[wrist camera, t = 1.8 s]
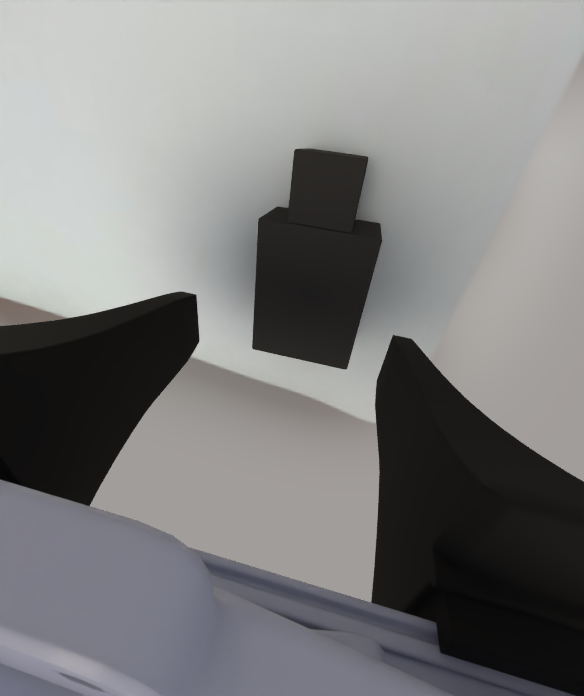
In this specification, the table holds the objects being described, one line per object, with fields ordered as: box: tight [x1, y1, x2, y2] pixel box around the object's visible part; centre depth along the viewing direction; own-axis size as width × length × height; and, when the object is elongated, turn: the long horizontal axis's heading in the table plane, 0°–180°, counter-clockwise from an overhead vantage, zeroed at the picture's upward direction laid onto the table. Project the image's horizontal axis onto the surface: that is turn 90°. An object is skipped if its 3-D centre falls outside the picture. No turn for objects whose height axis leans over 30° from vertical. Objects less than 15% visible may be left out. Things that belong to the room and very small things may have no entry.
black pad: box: [252, 149, 382, 369], centre depth 14 cm, size 5×9×3 cm, turn 174°
